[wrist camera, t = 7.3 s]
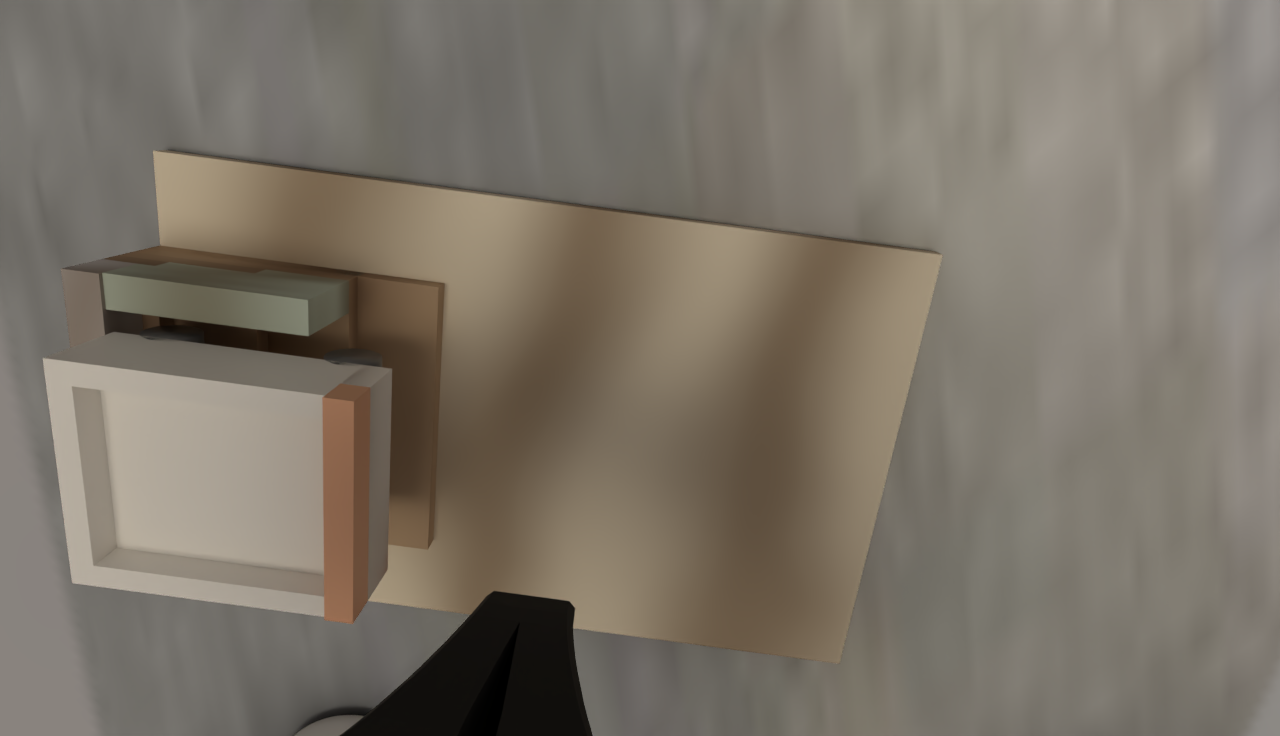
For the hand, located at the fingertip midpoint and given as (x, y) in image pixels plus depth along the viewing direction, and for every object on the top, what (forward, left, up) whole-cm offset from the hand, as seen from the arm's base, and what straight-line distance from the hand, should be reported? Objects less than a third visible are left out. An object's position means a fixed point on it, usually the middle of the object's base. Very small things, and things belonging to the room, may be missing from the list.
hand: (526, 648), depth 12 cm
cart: (+7, 0, -6) cm, 9 cm away
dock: (+2, 0, -9) cm, 9 cm away
